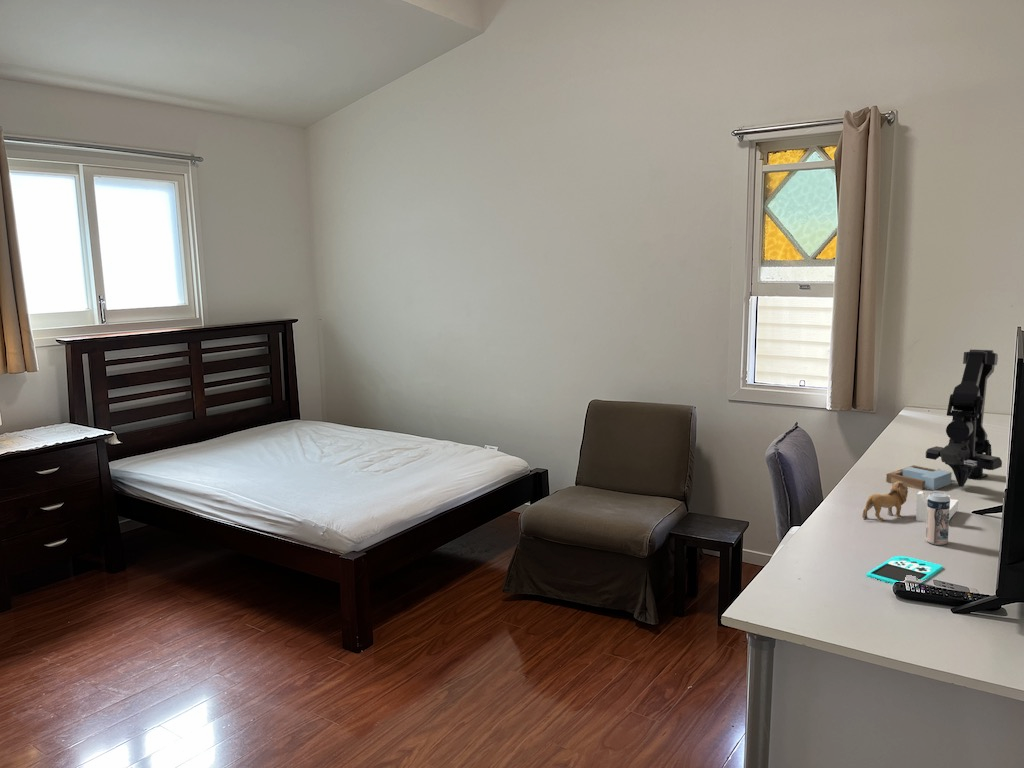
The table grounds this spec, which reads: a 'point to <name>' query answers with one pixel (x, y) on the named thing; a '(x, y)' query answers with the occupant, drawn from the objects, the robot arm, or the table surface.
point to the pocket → (907, 478)
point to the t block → (929, 477)
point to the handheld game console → (903, 569)
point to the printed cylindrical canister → (937, 518)
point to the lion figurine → (887, 501)
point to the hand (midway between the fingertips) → (961, 486)
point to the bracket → (922, 507)
